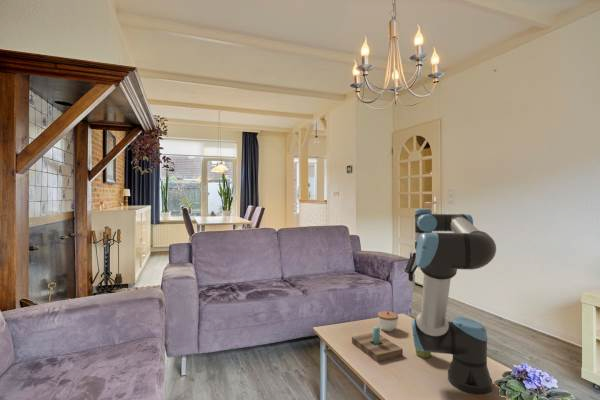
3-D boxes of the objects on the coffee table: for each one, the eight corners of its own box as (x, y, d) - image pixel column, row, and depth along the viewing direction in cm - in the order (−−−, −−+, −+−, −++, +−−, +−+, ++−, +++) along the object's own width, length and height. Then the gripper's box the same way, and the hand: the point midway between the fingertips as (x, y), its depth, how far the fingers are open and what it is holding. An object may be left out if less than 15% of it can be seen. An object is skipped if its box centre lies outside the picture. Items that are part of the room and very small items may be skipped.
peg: (381, 349, 152) (380, 328, 152) (375, 351, 150) (375, 329, 150) (376, 347, 154) (376, 326, 154) (371, 348, 153) (371, 327, 153)
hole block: (402, 355, 146) (402, 348, 146) (376, 361, 140) (376, 354, 140) (375, 338, 164) (375, 332, 164) (351, 342, 159) (351, 336, 159)
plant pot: (436, 360, 141) (436, 340, 141) (413, 358, 143) (413, 339, 143) (432, 350, 150) (432, 332, 150) (410, 349, 152) (410, 330, 152)
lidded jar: (399, 333, 170) (399, 315, 170) (378, 332, 171) (378, 314, 171) (396, 325, 180) (396, 308, 180) (376, 324, 182) (376, 307, 182)
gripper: (437, 239, 163) (437, 281, 163) (396, 241, 153) (397, 287, 153) (449, 240, 156) (449, 285, 156) (407, 243, 146) (408, 291, 146)
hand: (423, 286), depth 154 cm, fingers open, 13 cm apart
